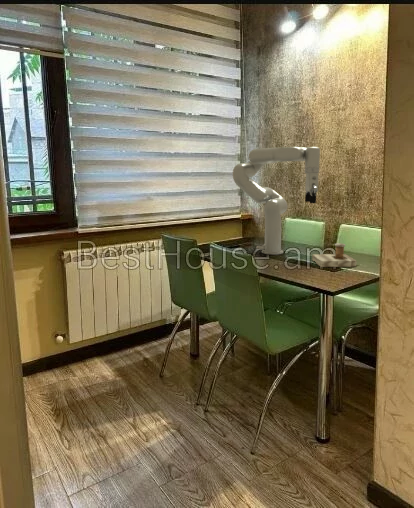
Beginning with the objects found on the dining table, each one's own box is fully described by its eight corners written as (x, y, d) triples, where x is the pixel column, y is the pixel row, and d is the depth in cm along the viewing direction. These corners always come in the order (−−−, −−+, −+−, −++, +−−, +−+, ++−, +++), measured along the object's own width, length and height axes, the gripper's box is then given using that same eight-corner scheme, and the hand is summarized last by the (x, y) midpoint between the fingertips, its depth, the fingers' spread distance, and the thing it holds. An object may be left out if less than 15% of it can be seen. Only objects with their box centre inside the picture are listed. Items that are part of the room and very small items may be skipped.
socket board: (320, 266, 206) (321, 261, 206) (312, 259, 222) (312, 254, 221) (356, 266, 206) (356, 260, 206) (345, 259, 222) (345, 254, 222)
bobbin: (335, 264, 212) (336, 245, 210) (332, 261, 217) (333, 243, 215) (345, 264, 212) (346, 245, 210) (342, 261, 217) (343, 243, 215)
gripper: (323, 170, 212) (321, 203, 216) (314, 170, 229) (312, 201, 233) (309, 170, 212) (307, 203, 216) (301, 170, 229) (299, 201, 233)
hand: (310, 202), depth 224 cm, fingers open, 9 cm apart
